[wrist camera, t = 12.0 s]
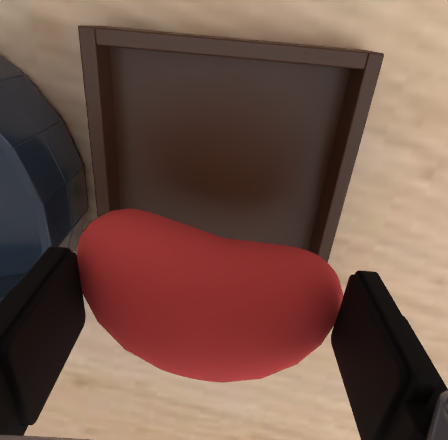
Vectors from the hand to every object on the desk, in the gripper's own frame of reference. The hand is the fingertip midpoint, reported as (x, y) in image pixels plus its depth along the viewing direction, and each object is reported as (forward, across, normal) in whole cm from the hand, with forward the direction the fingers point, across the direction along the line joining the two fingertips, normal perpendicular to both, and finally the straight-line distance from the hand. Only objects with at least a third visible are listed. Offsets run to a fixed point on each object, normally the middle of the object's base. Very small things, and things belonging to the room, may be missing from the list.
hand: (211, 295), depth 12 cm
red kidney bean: (+3, 0, +1) cm, 3 cm away
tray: (+8, 0, 0) cm, 8 cm away
